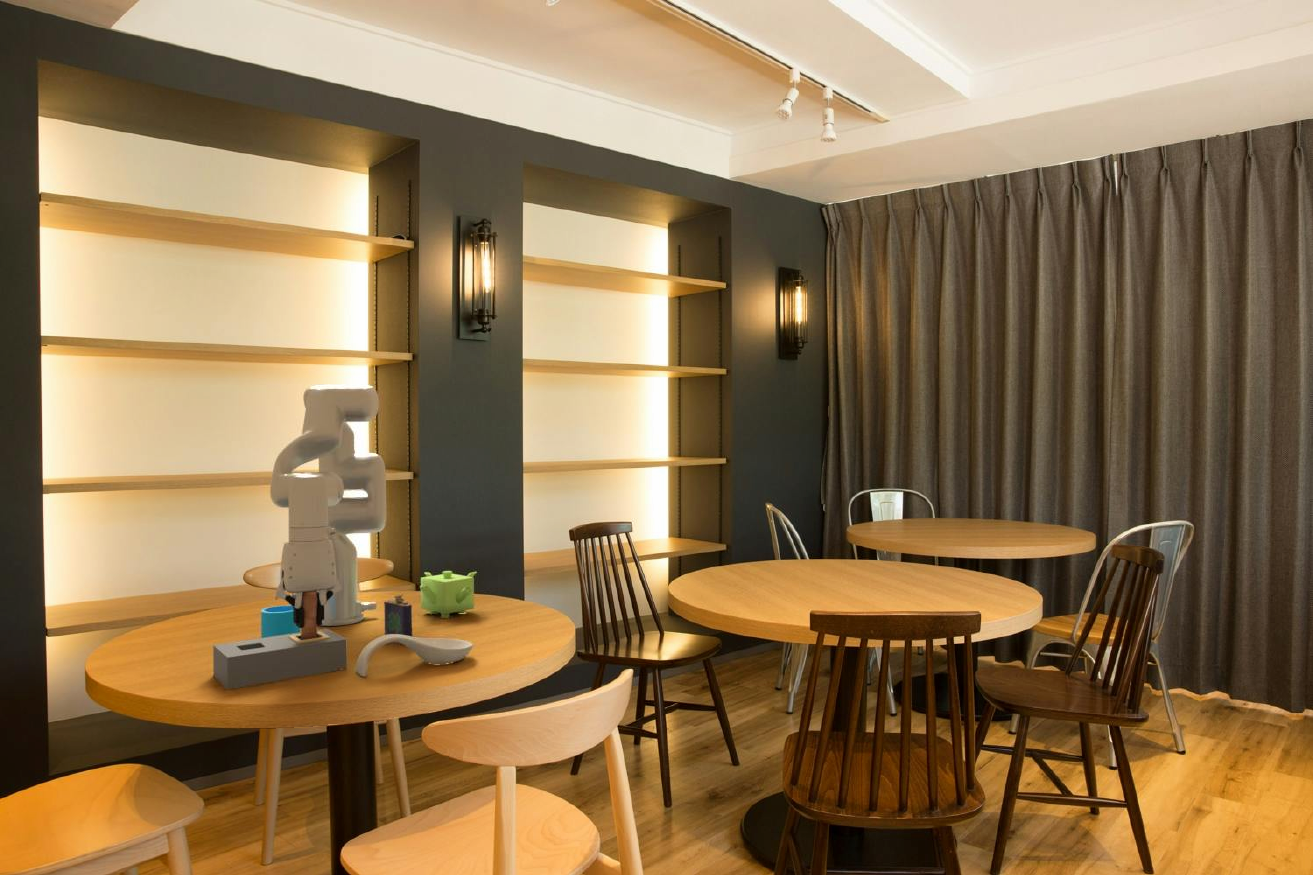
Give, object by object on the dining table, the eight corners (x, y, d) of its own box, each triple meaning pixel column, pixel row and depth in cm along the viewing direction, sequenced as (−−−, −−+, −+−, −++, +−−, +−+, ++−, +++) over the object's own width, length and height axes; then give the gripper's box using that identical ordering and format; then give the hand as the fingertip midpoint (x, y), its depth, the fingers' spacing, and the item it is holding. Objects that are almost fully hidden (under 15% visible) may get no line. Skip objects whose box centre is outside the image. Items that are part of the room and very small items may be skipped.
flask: (382, 639, 197) (382, 593, 197) (393, 637, 199) (393, 591, 199) (405, 646, 191) (405, 598, 191) (416, 643, 193) (416, 596, 193)
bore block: (327, 656, 182) (327, 627, 182) (346, 668, 172) (346, 637, 172) (213, 675, 168) (213, 643, 168) (227, 689, 159) (227, 655, 159)
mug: (270, 651, 186) (270, 614, 186) (255, 645, 192) (254, 609, 192) (323, 641, 195) (323, 606, 195) (307, 636, 200) (307, 601, 200)
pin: (314, 637, 176) (314, 589, 176) (319, 640, 173) (318, 591, 173) (299, 639, 174) (299, 591, 174) (303, 642, 171) (303, 593, 171)
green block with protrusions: (424, 608, 231) (424, 567, 231) (477, 607, 233) (477, 566, 233) (414, 620, 216) (414, 576, 216) (471, 619, 218) (471, 575, 218)
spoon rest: (458, 651, 187) (458, 618, 187) (482, 663, 178) (482, 628, 178) (349, 670, 172) (349, 634, 172) (369, 683, 163) (369, 646, 163)
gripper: (342, 530, 181) (343, 616, 181) (260, 536, 171) (261, 627, 171) (355, 533, 176) (355, 622, 176) (271, 540, 165) (271, 634, 165)
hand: (308, 624), depth 173 cm, fingers closed on pin, 3 cm apart
